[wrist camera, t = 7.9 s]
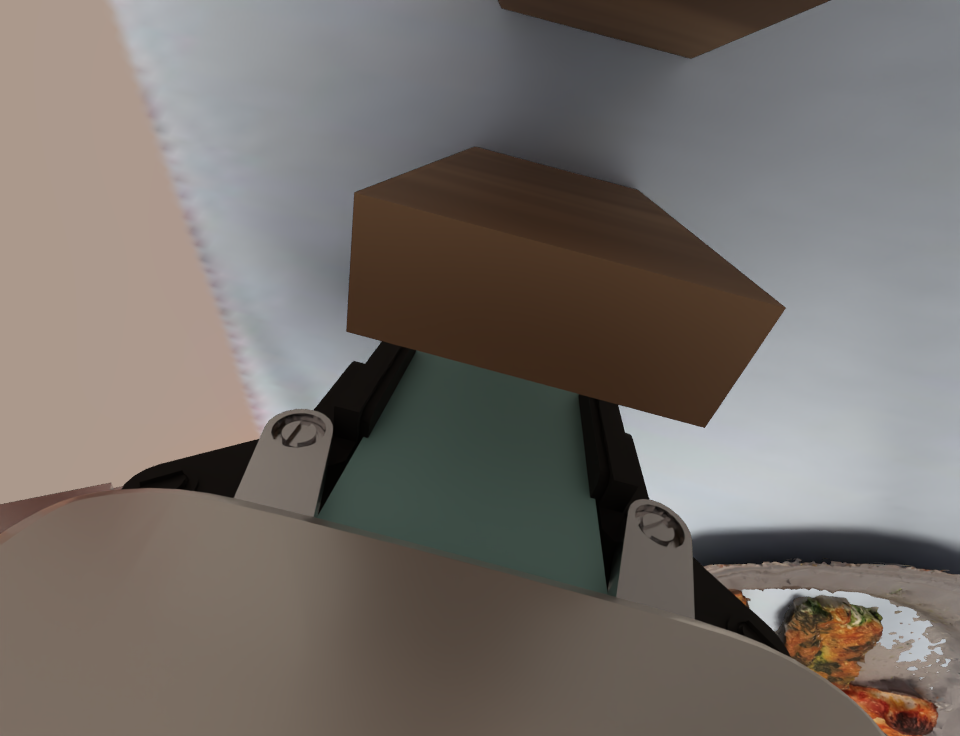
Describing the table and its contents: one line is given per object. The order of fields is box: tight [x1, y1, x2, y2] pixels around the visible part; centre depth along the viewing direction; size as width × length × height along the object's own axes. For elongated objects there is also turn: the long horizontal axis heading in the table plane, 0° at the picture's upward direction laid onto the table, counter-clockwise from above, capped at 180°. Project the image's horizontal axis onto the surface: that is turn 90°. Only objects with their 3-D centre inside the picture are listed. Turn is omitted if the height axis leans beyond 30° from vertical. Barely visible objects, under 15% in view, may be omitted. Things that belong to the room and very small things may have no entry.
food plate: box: [703, 558, 960, 736], centre depth 23 cm, size 25×23×4 cm
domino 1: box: [346, 147, 785, 428], centre depth 9 cm, size 2×5×9 cm, turn 77°
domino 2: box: [317, 350, 607, 594], centre depth 10 cm, size 2×5×9 cm, turn 77°
